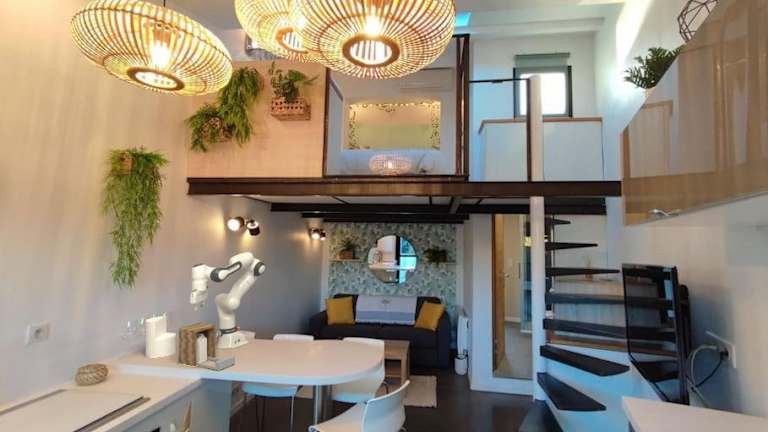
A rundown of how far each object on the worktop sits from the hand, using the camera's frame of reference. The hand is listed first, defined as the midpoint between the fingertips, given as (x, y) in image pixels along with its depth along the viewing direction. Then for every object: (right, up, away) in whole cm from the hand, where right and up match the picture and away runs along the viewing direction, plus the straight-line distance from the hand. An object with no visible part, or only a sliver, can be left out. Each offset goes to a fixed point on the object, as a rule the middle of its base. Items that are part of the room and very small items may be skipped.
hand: (199, 308), depth 252 cm
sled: (+10, -35, -7) cm, 37 cm away
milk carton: (+1, -36, -3) cm, 36 cm away
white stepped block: (-35, -37, +15) cm, 53 cm away
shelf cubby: (0, -35, -2) cm, 35 cm away
